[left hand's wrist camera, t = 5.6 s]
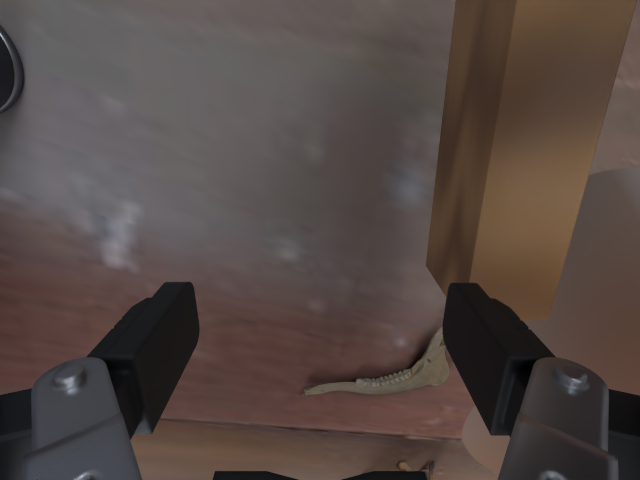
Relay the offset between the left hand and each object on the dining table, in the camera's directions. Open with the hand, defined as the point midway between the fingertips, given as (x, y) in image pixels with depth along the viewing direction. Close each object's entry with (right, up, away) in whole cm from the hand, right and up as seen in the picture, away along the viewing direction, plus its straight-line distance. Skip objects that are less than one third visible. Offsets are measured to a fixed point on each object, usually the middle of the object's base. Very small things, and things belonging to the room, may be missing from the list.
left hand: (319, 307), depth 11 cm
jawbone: (+7, -13, +35) cm, 38 cm away
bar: (+11, +12, +14) cm, 22 cm away
